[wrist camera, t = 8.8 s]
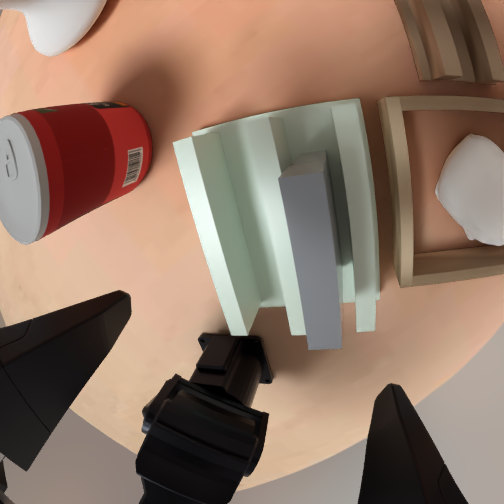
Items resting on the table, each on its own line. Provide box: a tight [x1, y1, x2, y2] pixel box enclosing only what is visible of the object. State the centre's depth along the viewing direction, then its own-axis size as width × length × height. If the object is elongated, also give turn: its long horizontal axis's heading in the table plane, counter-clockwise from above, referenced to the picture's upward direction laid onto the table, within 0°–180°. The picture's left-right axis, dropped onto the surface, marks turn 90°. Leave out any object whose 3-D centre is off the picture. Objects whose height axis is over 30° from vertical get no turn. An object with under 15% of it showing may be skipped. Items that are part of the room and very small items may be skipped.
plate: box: [278, 150, 343, 350], centre depth 15 cm, size 8×2×8 cm, turn 14°
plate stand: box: [394, 0, 504, 85], centre depth 9 cm, size 8×6×3 cm
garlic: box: [435, 133, 504, 246], centre depth 13 cm, size 8×7×4 cm
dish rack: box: [173, 98, 380, 336], centre depth 17 cm, size 14×11×5 cm
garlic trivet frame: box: [377, 96, 504, 288], centre depth 14 cm, size 12×13×3 cm
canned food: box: [0, 102, 152, 245], centre depth 16 cm, size 8×8×11 cm
